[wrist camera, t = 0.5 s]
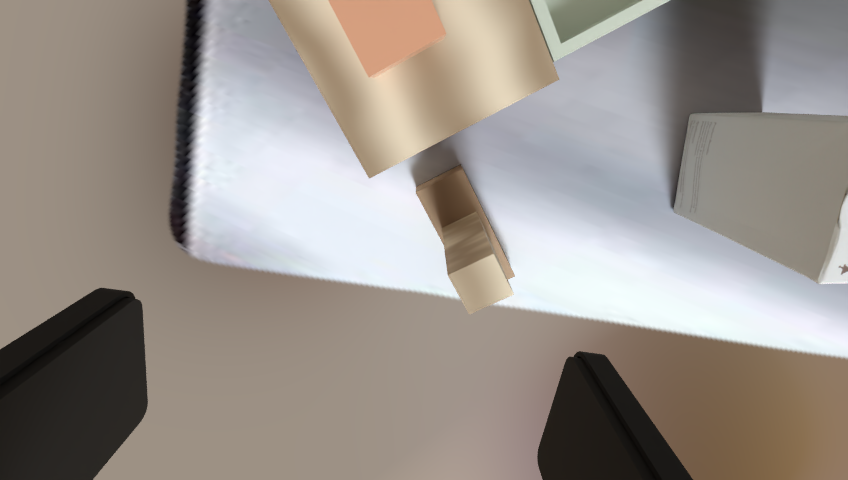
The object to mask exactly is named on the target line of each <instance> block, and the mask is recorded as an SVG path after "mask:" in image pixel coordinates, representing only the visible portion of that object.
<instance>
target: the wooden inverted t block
mask: <svg viewBox="0 0 848 480" xmlns="http://www.w3.org/2000/svg"><path fill="white" fill-rule="evenodd" d="M416 194H417V196H418V198H419V199H420V201H421V203H422V205H423V207H424V209H425V211H426V213H427V214H428V216H429V218H430V220H431V222H432V224H433V226H434V228H435V229H436V231H437V233H438V235H439V237H440V239H441V241H442V243H443V244H444V249H445V257H446V264H447V272H448V276H449V278H450V280H451V282H452V284H453V286H454V287H455V289H456V291H457V293H458V295H459V297H460V298H461V300H462V302H463V304H464V305H465V308H466V309H467V311H468V313H469V314H471V313H474V312H476V311H478V310H480V309H482V308H485V307H487V306H489V305H491V304H494V303H496V302H498V301H500V300H503V299H505V298H507V297H509V296H512V295H514V294H513V291H512V289H511V287H510V284H509V282H508V279H510V278H512V277H514V276H515V275H514V273H513V271H512V269H511V267H510V265H509V263H508V261H507V258H506V256H505V254H504V252H503V250H502V248H501V246H500V244H499V242H498V240H497V238H496V236H495V234H494V232H493V230H492V228H491V226H490V224H489V222H488V220H487V217H486V215H485V213H484V211H483V209H482V207H481V205H480V203H479V201H478V199H477V197H476V195H475V193H474V191H473V189H472V187H471V185H470V183H469V181H468V179H467V176H466V174H465V172H464V170H463V168H462V166H461V164H460V165H458V166H457V167H455V168H453V169H451V170H449V171H447V172H445V173H443V174H441V175H439V176H437V177H435V178H433V179H431V180H429V181H427V182H425V183H423V184H421V185H419V186H417V187H416Z"/></svg>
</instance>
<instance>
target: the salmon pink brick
mask: <svg viewBox="0 0 848 480" xmlns="http://www.w3.org/2000/svg"><path fill="white" fill-rule="evenodd" d="M328 1H329V3H330V5H331V7H332V9H333V10H334V12H335V14H336V16H337V18H338V20H339V22H340V24H341V26H342V28H343V30H344V31H345V33H346V35H347V37H348V39H349V41H350V43H351V45H352V47H353V49H354V51H355V52H356V54H357V56H358V58H359V60H360V62H361V64H362V66H363V68H364V70H365V72H366V73H367V75H368V77H369V78H375V77H377V76H379V75H381V74H382V73H384V72H386V71H388V70H389V69H391V68H393V67H395V66H397V65H398V64H400V63H402V62H404V61H405V60H407V59H409V58H411V57H413V56H414V55H416V54H418V53H420V52H422V51H423V50H425V49H427V48H429V47H430V46H432V45H434V44H436V43H438V42H439V41H441V40H443V39H444V38H445V36H446V34H447V33H446V31H445V29H444V27H443V25H442V22H441V20H440V18H439V16H438V13H437V11H436V9H435V7H434V5H433V2H432V0H328Z"/></svg>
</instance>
